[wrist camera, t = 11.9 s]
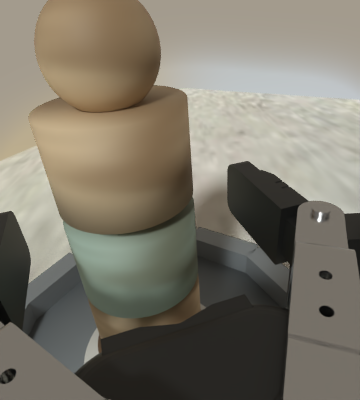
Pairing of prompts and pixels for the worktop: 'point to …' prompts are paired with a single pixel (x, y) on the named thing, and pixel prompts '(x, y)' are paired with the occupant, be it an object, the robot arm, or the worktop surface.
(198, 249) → the dish
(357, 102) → the worktop surface
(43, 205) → the worktop surface
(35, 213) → the worktop surface
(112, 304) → the bead column
